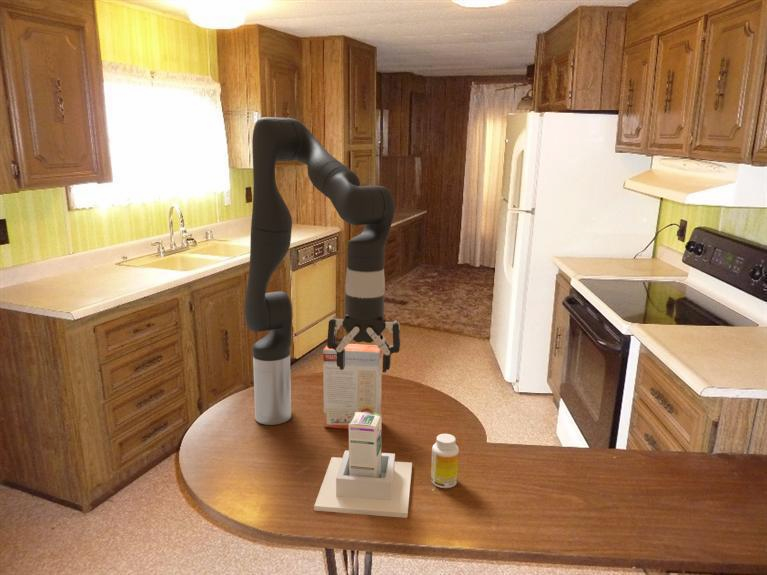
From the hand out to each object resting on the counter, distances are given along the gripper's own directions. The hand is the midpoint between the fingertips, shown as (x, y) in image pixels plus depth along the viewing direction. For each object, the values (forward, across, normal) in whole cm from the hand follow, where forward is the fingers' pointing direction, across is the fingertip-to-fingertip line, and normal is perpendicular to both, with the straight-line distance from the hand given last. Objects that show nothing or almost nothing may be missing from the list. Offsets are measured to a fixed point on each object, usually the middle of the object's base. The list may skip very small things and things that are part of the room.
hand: (363, 369), depth 112 cm
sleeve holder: (+25, -1, +2) cm, 25 cm away
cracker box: (+26, +6, -25) cm, 37 cm away
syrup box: (+24, -1, +2) cm, 25 cm away
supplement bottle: (+25, -17, -2) cm, 31 cm away
